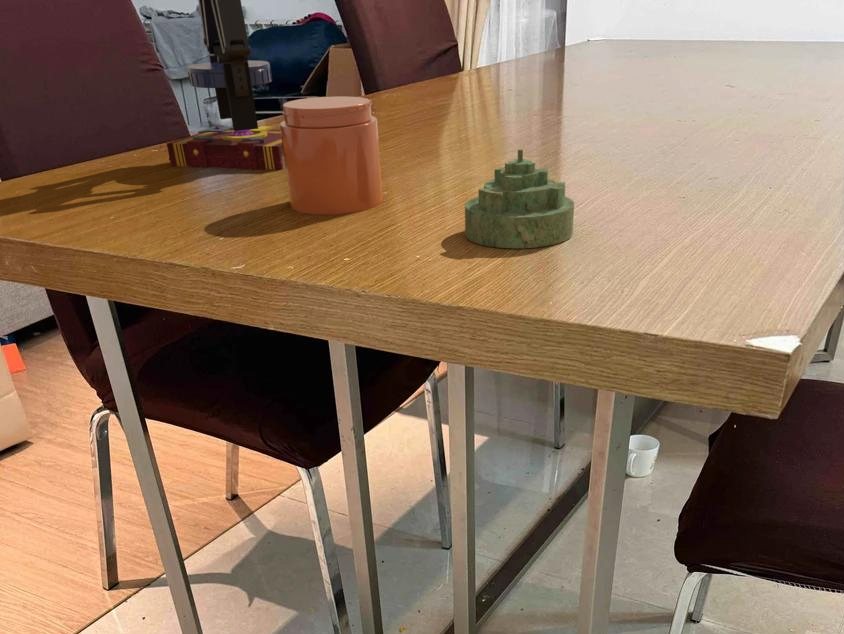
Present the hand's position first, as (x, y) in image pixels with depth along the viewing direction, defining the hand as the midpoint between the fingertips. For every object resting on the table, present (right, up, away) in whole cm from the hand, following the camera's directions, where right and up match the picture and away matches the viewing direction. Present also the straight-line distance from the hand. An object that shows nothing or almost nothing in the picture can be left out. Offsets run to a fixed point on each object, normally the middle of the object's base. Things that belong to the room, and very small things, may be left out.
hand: (238, 123), depth 100 cm
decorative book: (0, -5, +4) cm, 6 cm away
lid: (0, +4, -3) cm, 5 cm away
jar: (+14, -19, -16) cm, 29 cm away
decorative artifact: (+32, -23, -21) cm, 44 cm away
